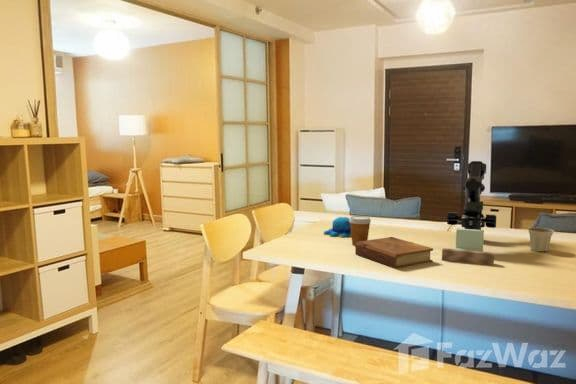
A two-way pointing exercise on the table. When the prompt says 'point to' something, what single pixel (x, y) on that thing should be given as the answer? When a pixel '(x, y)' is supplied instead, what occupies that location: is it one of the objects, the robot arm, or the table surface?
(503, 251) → the table surface
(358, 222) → the disposable coffee cup
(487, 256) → the board
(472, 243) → the bookend
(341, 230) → the plush toy
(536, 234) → the flower pot
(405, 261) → the diary
